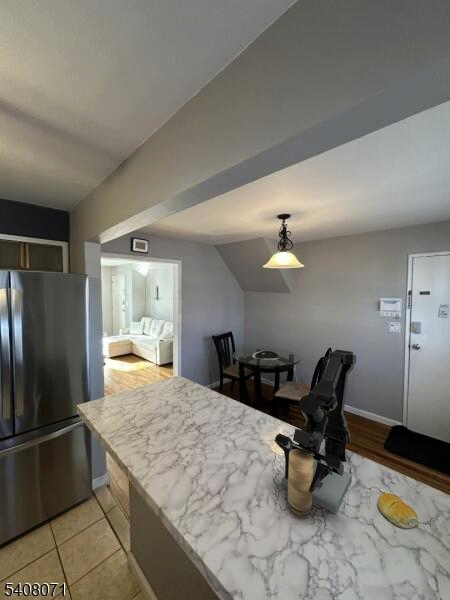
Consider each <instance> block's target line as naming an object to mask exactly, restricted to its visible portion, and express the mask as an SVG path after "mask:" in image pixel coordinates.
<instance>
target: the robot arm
mask: <svg viewBox="0 0 450 600" xmlns="http://www.w3.org/2000/svg"><path fill="white" fill-rule="evenodd" d="M356 364H357V354H355V353H354V352H353V351H350V350H344V349H335V350H334V351H330V353H329V356H328V362H327V365H326V367H325V370H324V373H323V376H322V378H321V380H320V381H319V382H318V383H316V384H315V385H314V387H313V389H312V390H311V391H309V392H308V394H307V395H304V396H302V397H301V398H300V399H299V401H298V407H299V410H300V412H301V413H302V415H303V417H304V418H305V422H304V425H302V427H301V429H300V428H294V432H293V433H294V434H293V438H292V439H291V437H290V436H287V435H285V434H282V433H280V432H279V433H277V434H276V435H275V438H274V440H273V441H274V443H275V444H276V445H277V446H278V447H279V448H280V449H281V450H282V451H283V452H284V453H283V454H284V461H285V463H284V465H285V466H284V468H285V469H284V475H285V479H286V480H288V472H289V453H290V451H291V450H294V449H302V450H305V451H307V452H309V453H310V454H311V455H312V456H313V458H314V460H317V467H316V471H315V474H314V477H313V480H312V483H311V486H310V492H311V493H312V492H313V491H315V490H316V488H318V487H317V486H318V485H319V483H320V482H321V481H322V480H323V479H324V478H325V477H326V476H327V475H328V474H330V475H332V474H333V473H332V472H334V473H336V474H338V475H340V476H343V472H345V466H344V464H343V462H347V458H346V446H347V445H349V444H350V445H351V433H350V430H349V428H348V422H347V421H348V420H347V419H346V417H345V414H344V410H345V404H346V396H347V386H348V380H349V374H350V373H351V372H352V371H353V370H354V369H355V365H356ZM325 411H326V412H327V413H326V412H325ZM323 442H324V453H325V454H321V453H320V450H321V446H322V443H323ZM318 461H319V462H318Z"/></svg>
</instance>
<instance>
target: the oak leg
mask: <svg viewBox="0 0 450 600" xmlns="http://www.w3.org/2000/svg"><path fill="white" fill-rule="evenodd" d="M313 464H314V458H313V456H312V454H310V453H309V452H307V451H305V450H302V449H294V450H291V451H290V453H289V472H288V487H287V499H286V500H287V505H288V506H289V508H290V509H291V510H292V511H293V513H294V514H295V515H296V516H299V517H300V516H301V517H303V516H305V515H306V514H309V513H310V512H311V511H312V508H313V501H312V493H311V492H310V486H311V483H312V480H313Z"/></svg>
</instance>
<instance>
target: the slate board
mask: <svg viewBox="0 0 450 600" xmlns="http://www.w3.org/2000/svg"><path fill="white" fill-rule="evenodd" d="M318 462H319V461H318ZM316 467H317V460H314V464H313V477H314V474H315V471H316ZM332 473H333V474H332V475H330V474H328V475H327V476H326V477H325V478H324V479H323V480H322V481H321V482H320V483H319V485H318V486H317V487H316V488H319V490H318V492H316V491H315V490H314V491H313V492H312V503H315V504H316V505H318V506H320V507H322V508H324V509H325V510H327V511H329V512H330V513H333V514H334V515H337V513H338V510H339V509H340V507H341V504H342V502H343V500H344V498H345V496H346V493H347V491H348V490H349V487H350V485H351V484H352V481H353V476H352V475H353V474H351V473H348V472H346V471H344V472H343V476H340V475H338V474H336V473H334V472H332ZM281 485H283V486H285V487H286V488H288V480H286V479H285V474H284V475H283V476H282V478H281Z"/></svg>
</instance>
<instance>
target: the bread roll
mask: <svg viewBox="0 0 450 600" xmlns="http://www.w3.org/2000/svg"><path fill="white" fill-rule="evenodd" d="M377 508H378V509H379V512H380V513H381V514H382V516H384V517H385V518H386V519H387V520H388V521H389V522H390V523H392V524H393V525H395V526H397V527H400V528H401V529H402V528H403V529H413V528H415V527H416V526H418V524H419V520H418V518H419V517H418V514H417V513H416V511H415V510H414V508H413V507H411V506H410V505H409V504H408V503H405V502H404V500H402V499H401V498H400V497H399V496H398V495H396V494H394V493H391V492H390V493H389V492H384V493H381V494H380V495H379V496H378V497H377Z"/></svg>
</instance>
